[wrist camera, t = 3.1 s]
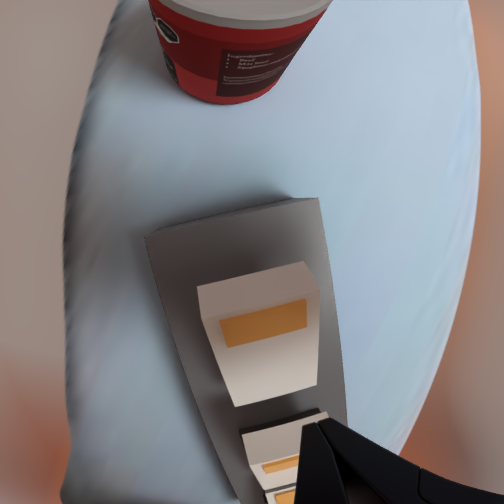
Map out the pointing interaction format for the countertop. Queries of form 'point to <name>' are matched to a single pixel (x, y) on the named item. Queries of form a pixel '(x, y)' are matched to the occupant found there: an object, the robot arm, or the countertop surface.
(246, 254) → the rocker switch panel
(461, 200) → the countertop surface
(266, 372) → the rocker
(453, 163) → the countertop surface
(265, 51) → the canned food
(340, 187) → the countertop surface
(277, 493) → the rocker
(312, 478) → the robot arm
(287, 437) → the block
